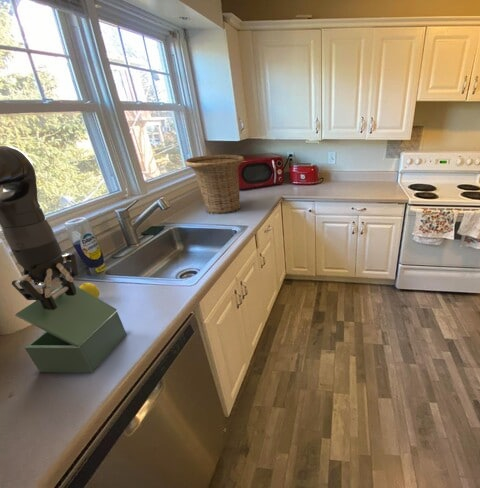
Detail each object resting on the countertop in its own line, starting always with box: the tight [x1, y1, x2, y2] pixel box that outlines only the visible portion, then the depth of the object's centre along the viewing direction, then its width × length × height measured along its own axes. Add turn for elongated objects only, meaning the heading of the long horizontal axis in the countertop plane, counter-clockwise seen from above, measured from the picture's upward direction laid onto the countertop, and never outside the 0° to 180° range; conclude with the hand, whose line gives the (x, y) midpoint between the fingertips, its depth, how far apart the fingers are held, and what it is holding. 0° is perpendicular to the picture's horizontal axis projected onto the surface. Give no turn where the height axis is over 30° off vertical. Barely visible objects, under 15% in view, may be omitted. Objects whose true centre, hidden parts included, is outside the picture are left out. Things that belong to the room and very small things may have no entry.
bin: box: [23, 311, 127, 373], centre depth 76 cm, size 14×14×9 cm
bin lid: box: [14, 284, 118, 347], centre depth 71 cm, size 14×14×5 cm
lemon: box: [78, 282, 100, 299], centre depth 96 cm, size 6×6×8 cm
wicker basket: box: [184, 154, 245, 215], centre depth 182 cm, size 35×35×33 cm
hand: (62, 301), depth 70 cm, fingers closed on bin lid, 5 cm apart
